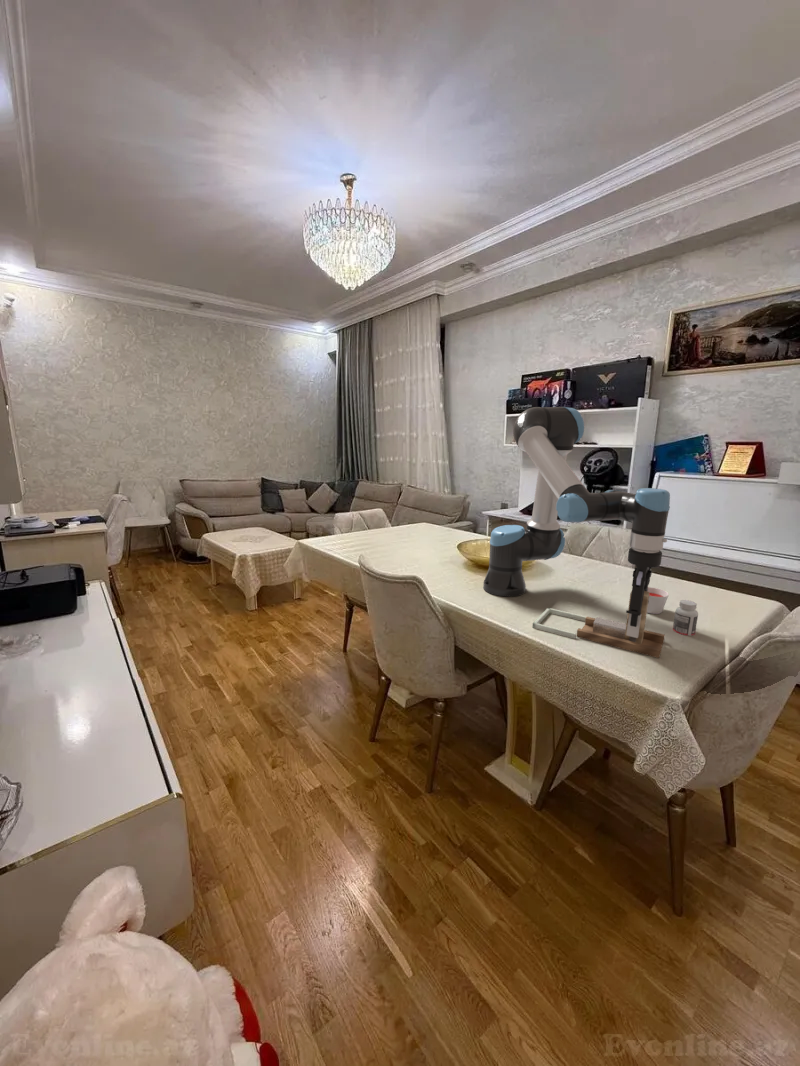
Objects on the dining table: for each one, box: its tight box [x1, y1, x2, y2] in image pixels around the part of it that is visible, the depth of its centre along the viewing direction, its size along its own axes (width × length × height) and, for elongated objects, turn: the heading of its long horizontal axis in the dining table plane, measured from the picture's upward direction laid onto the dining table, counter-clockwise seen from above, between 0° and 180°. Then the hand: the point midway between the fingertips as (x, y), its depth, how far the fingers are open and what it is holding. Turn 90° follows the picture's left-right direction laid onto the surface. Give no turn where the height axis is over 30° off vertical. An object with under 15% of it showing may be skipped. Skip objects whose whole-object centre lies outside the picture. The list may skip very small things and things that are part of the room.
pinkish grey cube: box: [608, 620, 626, 639], centre depth 119 cm, size 4×4×4 cm
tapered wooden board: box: [624, 590, 650, 644], centre depth 115 cm, size 4×7×14 cm, turn 144°
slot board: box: [576, 616, 665, 659], centre depth 119 cm, size 20×11×3 cm, turn 54°
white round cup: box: [647, 586, 670, 615], centre depth 139 cm, size 9×9×6 cm
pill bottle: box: [672, 599, 699, 636], centre depth 122 cm, size 5×5×10 cm
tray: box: [531, 607, 587, 640], centre depth 128 cm, size 12×14×2 cm
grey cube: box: [593, 616, 613, 635], centre depth 121 cm, size 4×4×4 cm
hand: (634, 630), depth 116 cm, fingers closed on tapered wooden board, 7 cm apart
